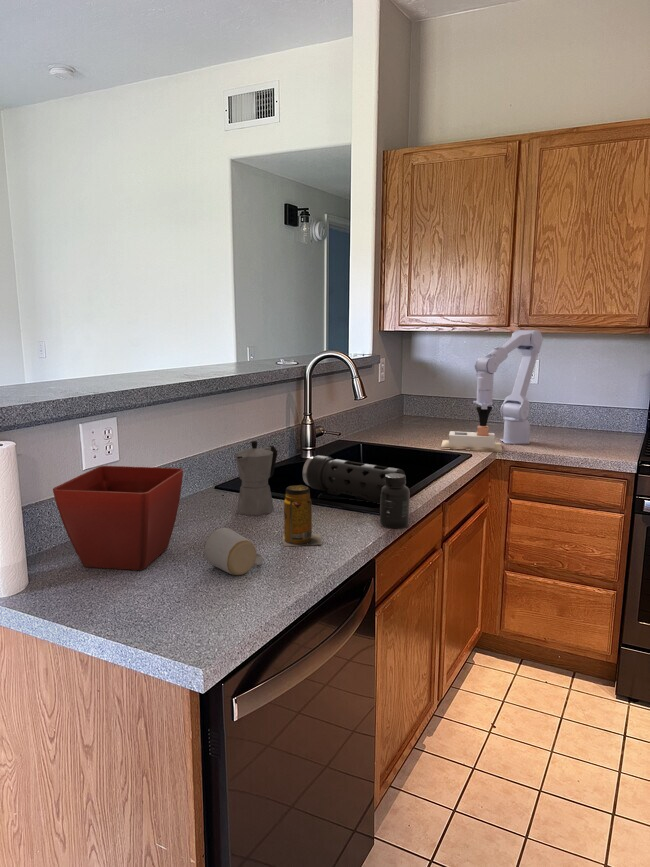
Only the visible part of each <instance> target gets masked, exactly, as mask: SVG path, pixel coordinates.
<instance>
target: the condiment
mask: <svg viewBox="0 0 650 867" xmlns="http://www.w3.org/2000/svg"><path fill="white" fill-rule="evenodd" d="M309 487H310V486H309ZM309 487H308V485H307V486H306V485H303V484H295V485H289V486H287V487H286V488H285V498H284V501H283V506H284V507H283V513H284V514H283V515H284V517H283V525H284V526H283V527H284V528H283V530H284V533H283V534H282V546H284V547H293V546H294V547H298V546H316V545H323V542H322V536H321V533H313V532H312V531H313V528H312V527H313V525H312V524H313V520H312V519H313V518H312V517H313V515H312V512H313V511H312V508H313V506H312V504H313V503H312V502H313V501H312V499H311V493H310V492H311V491H310V488H309Z"/></svg>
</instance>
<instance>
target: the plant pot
mask: <svg viewBox="0 0 650 867" xmlns="http://www.w3.org/2000/svg"><path fill="white" fill-rule="evenodd" d="M183 475H184V469H183V468H179V467H178V468H176V467H175V468H174V467H155V466H154V467H152V466H151V467H149V466H147V467H146V466H123V465H122V466H120V465H119V466H118V465H101V466H98V467H96V468H93V469H91V470H89V471H86V472H85V473H82V474H80V475H78V476H76V477H74V478H71V479H70V480H67V481H66V482H63V483H61V484H59V485H57V486H54V487H53V488H52V493H53V496H54V500H55V501H54V502H55V504H56V507H57V509H58V513H59V516H60V519H61V523H62V524H63V527H64V529H65V532H66V534H67V536H68V539H69V540H70V543H71V545H72V548H73V549H74V551H75V553H76V554H77V557H78V558H79V560H80V561H81V564H82V565H83V566H84V567H85V568H101V569H117V570H118V569H119V570H132V571H134V570H135V571H140V570H144V569H145V568H147V567H148V566H150V564H151V563H152V562H153V561H154V560H156V559H157V558H158V557H159V556H160V555H161V554H162V553H164V551H166V550H167V549H168V547H169V544H170V542H171V538H172V534H173V531H174V527H175V523H176V518H177V514H178V510H179V505H180V500H181V499H180V498H181V494H182V493H181V491H182V485H183V483H182V482H183Z"/></svg>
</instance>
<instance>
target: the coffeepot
mask: <svg viewBox="0 0 650 867" xmlns="http://www.w3.org/2000/svg"><path fill="white" fill-rule="evenodd" d="M258 442H259V441H256V440H252V441H251V442H250V443H251V444H250V445H251V448H246V449H241V450H238V451H237V452H236V453H235V461H236V464H237V470H238V477H239V479H240V480H241V486H240V488H239V494H238V501H237V506H236V507H237V508H236V511H237V512H238V513H239V514H240V515H244V516H251V517H252V516H255V517H257V516H263V515H264V516H265V515H267V514H270V513H272V512H273V510H274V503H273V497H272V493H271V487H270V485H269V479H270V478H272V477H273V476H274V472H275V468H276V463H277V457H278V450H277V448H276V446H274V445H268V446H264V447H262V448H261V447H259V448H258Z"/></svg>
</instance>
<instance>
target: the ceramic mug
mask: <svg viewBox="0 0 650 867" xmlns="http://www.w3.org/2000/svg"><path fill="white" fill-rule="evenodd" d="M203 552H204V557H205V559H206V560H207V562H208V563H209V564H210V565H212V566H214V567H216V568H218V569H219V570H222V571H224V572H226V573H227V574H230V575H233V576H243V575H245V574H246V573H248V572H249V571H251V569H253V566H254V565H257V566H261V565H262V564H263V562H264V556H262V555H260V554H259V553H257V548H256V546H255V544H254V543H253V542H252V541H251V540H249V539H248V538H247V537H246V536H243V535H241V534H239V533H237V532H236V531H234V530H233V529H231V528H228V527H220V528H217V529H216V530H215V531H213V532H212V533H211V534H210V535H209V536H208V538H207V540H206V541H205V545H204V551H203Z"/></svg>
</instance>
